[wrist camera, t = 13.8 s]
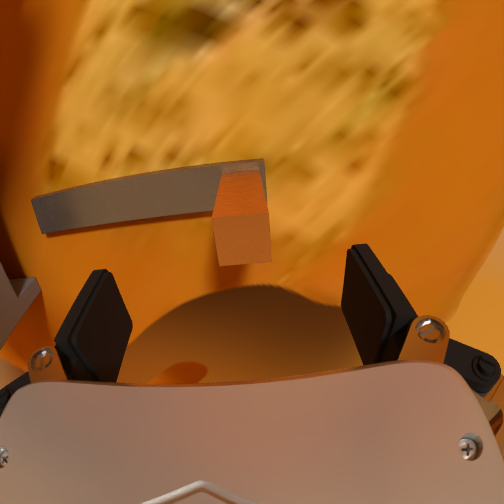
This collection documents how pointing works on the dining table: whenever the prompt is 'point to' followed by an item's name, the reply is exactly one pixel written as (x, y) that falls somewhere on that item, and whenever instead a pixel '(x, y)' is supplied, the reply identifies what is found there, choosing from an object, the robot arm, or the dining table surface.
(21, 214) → the dining table surface
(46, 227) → the scraper
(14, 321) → the grey bridge block
